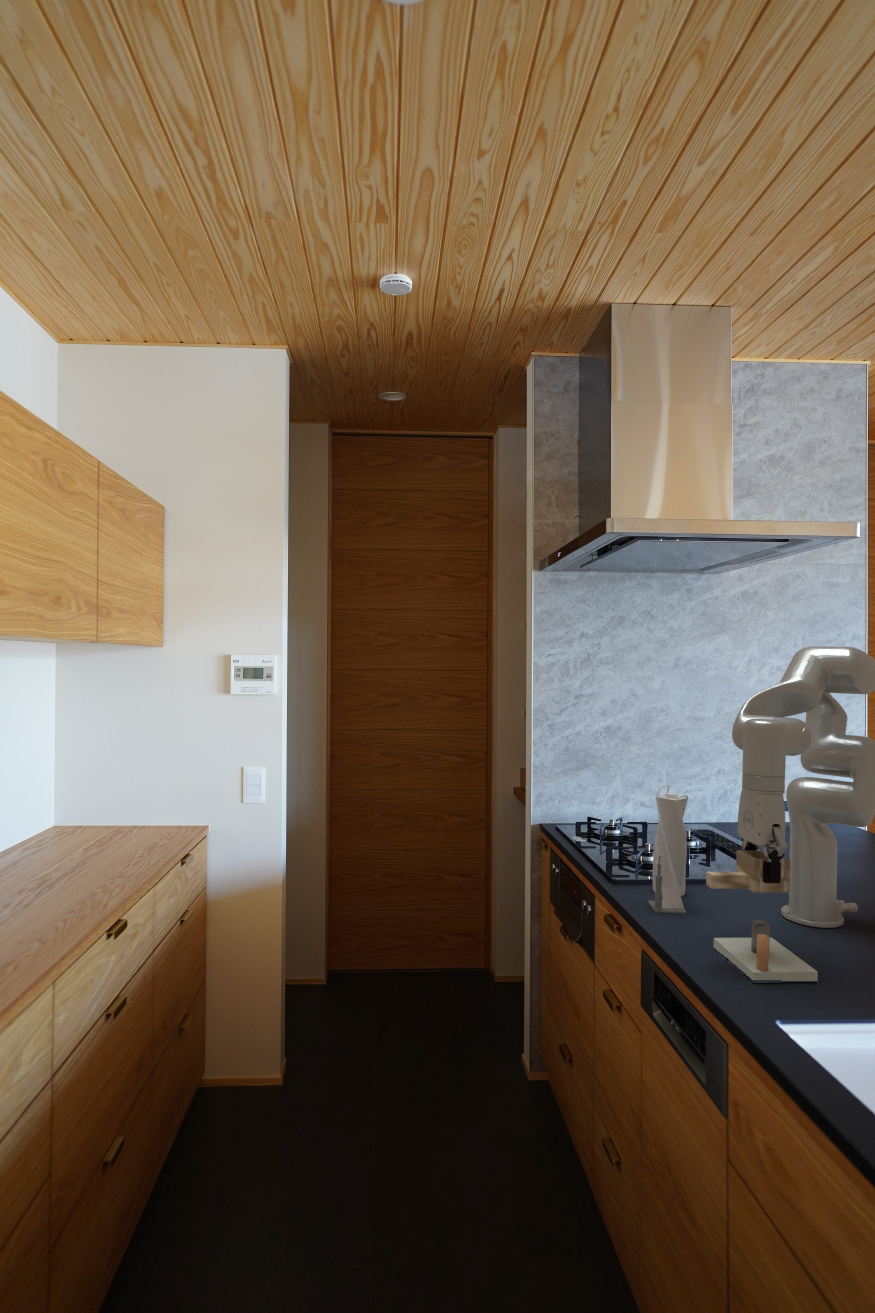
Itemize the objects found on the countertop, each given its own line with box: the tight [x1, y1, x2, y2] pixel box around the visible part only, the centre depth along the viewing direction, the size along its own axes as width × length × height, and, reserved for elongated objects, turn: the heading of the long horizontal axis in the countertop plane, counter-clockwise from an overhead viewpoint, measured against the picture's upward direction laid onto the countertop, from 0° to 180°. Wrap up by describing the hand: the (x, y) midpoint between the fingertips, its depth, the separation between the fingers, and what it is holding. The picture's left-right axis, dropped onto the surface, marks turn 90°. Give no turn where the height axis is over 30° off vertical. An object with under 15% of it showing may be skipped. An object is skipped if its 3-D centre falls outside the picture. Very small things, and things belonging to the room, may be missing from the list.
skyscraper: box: [647, 784, 689, 915], centre depth 171 cm, size 8×8×28 cm
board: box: [713, 937, 819, 982], centre depth 140 cm, size 12×16×2 cm
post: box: [750, 919, 771, 954], centre depth 141 cm, size 3×3×6 cm
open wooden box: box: [705, 849, 791, 894], centre depth 140 cm, size 14×7×6 cm, turn 94°
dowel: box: [756, 934, 769, 972], centre depth 133 cm, size 2×2×6 cm
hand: (761, 876), depth 141 cm, fingers closed on open wooden box, 7 cm apart
